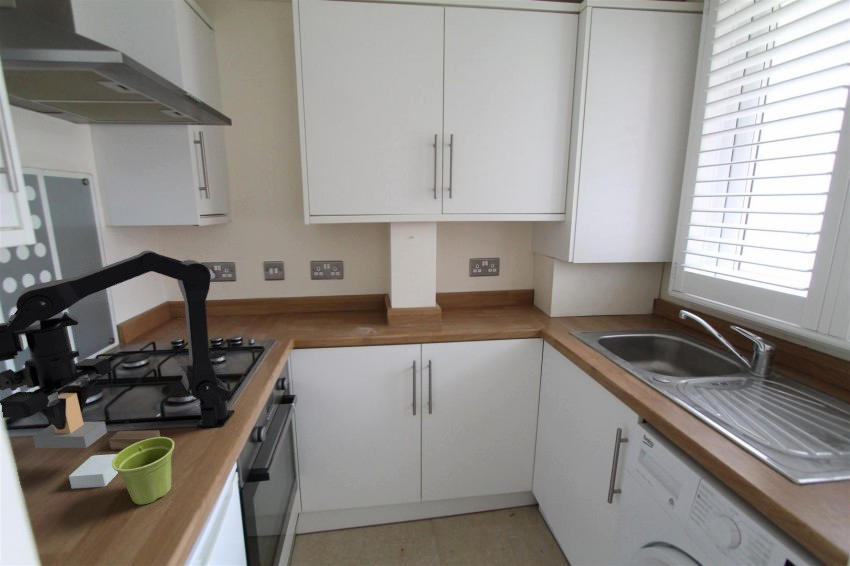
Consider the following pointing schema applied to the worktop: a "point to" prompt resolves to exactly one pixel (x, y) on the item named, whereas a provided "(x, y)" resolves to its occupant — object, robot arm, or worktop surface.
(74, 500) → the worktop surface
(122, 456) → the plant pot
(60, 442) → the tan block grey base
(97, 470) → the tile
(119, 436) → the stop bar
